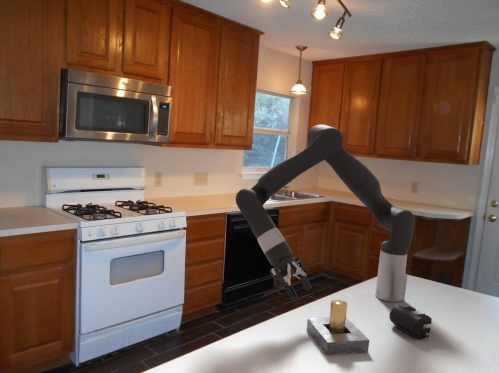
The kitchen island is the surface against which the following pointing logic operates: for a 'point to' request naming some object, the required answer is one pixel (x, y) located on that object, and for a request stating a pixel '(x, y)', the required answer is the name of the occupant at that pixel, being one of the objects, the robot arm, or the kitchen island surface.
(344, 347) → the jig
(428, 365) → the kitchen island surface
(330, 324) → the gold cylinder
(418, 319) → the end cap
